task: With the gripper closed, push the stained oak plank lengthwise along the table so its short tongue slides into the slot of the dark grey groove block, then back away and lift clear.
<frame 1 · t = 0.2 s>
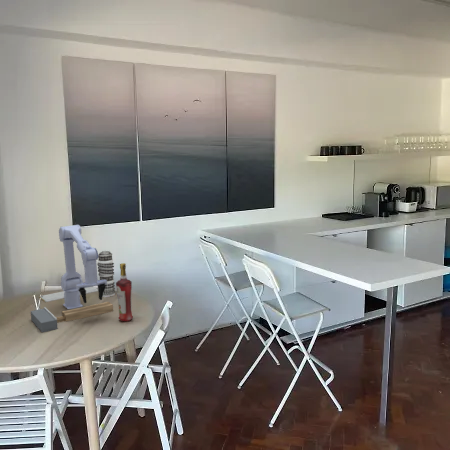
hand: (92, 301, 227), 10 cm above the table, tool pointing down, fingers open, 7 cm apart
oak plank: (88, 314, 237), on the table
groove block: (44, 324, 225), on the table
baseboard: (70, 295, 271), on the table
white tower model: (107, 295, 269), on the table
liquor: (125, 320, 229), on the table
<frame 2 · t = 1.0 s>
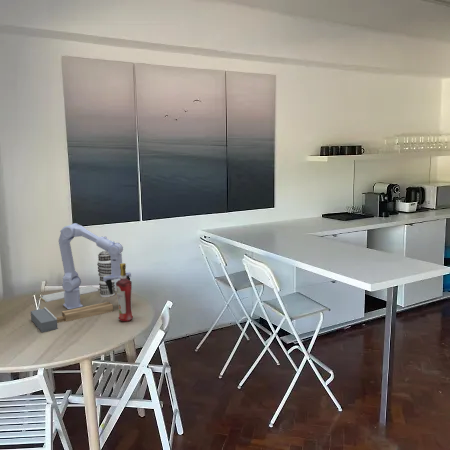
hand: (118, 292, 245), 8 cm above the table, tool pointing down, fingers open, 7 cm apart
nothing on the table moved.
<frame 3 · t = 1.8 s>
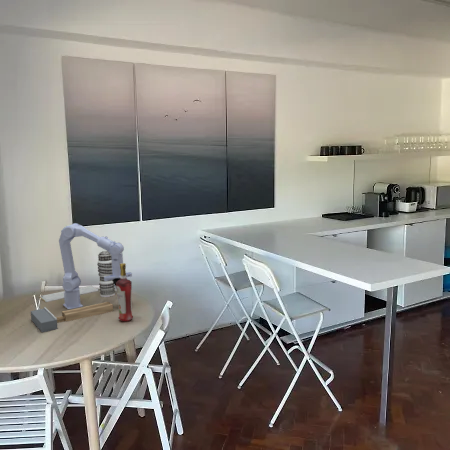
hand: (119, 292, 246), 8 cm above the table, tool pointing down, fingers closed
nothing on the table moved.
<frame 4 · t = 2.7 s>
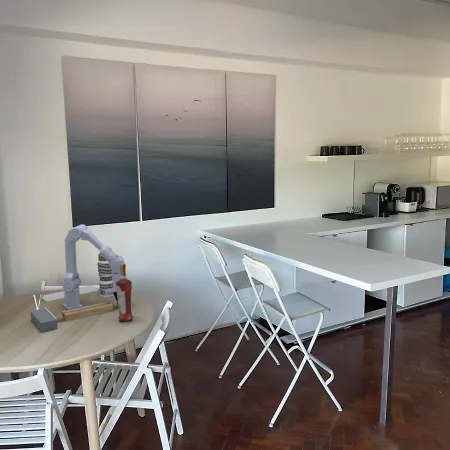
hand: (119, 304, 247), 1 cm above the table, tool pointing down, fingers closed
nothing on the table moved.
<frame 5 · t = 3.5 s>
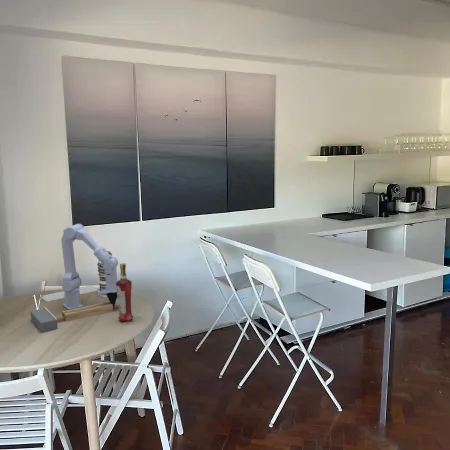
hand: (112, 306, 245), 1 cm above the table, tool pointing down, fingers closed
oak plank: (88, 314, 237), on the table, touching gripper
everything else where it was.
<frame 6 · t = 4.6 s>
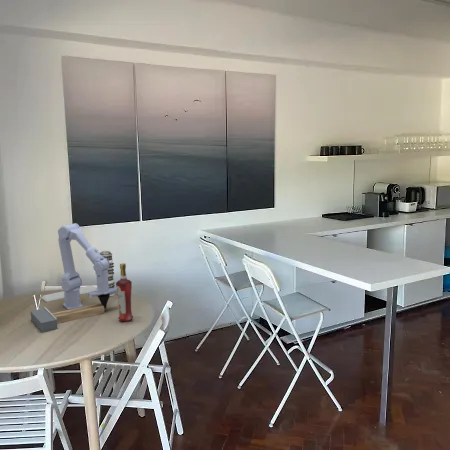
hand: (104, 308, 242), 1 cm above the table, tool pointing down, fingers closed
oak plank: (79, 316, 235), on the table, touching gripper
everything else where it was.
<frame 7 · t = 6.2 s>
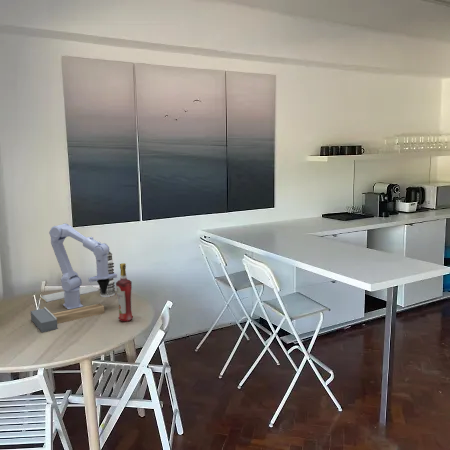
hand: (103, 293, 243), 9 cm above the table, tool pointing down, fingers closed
oak plank: (79, 316, 235), on the table
everything else where it was.
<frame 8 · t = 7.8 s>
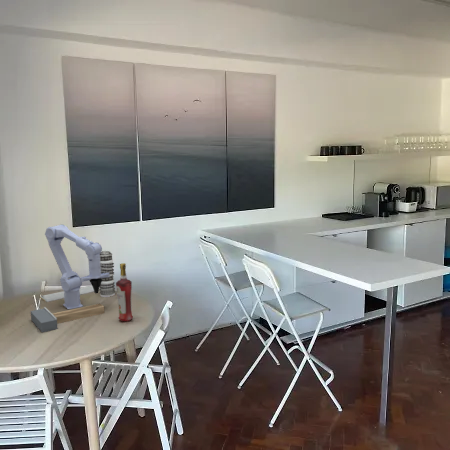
hand: (96, 292, 242), 9 cm above the table, tool pointing down, fingers closed
nothing on the table moved.
at the end: oak plank 0.3 cm from the target spot, on the table; oak plank tilted 0°; the gripper is holding nothing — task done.
